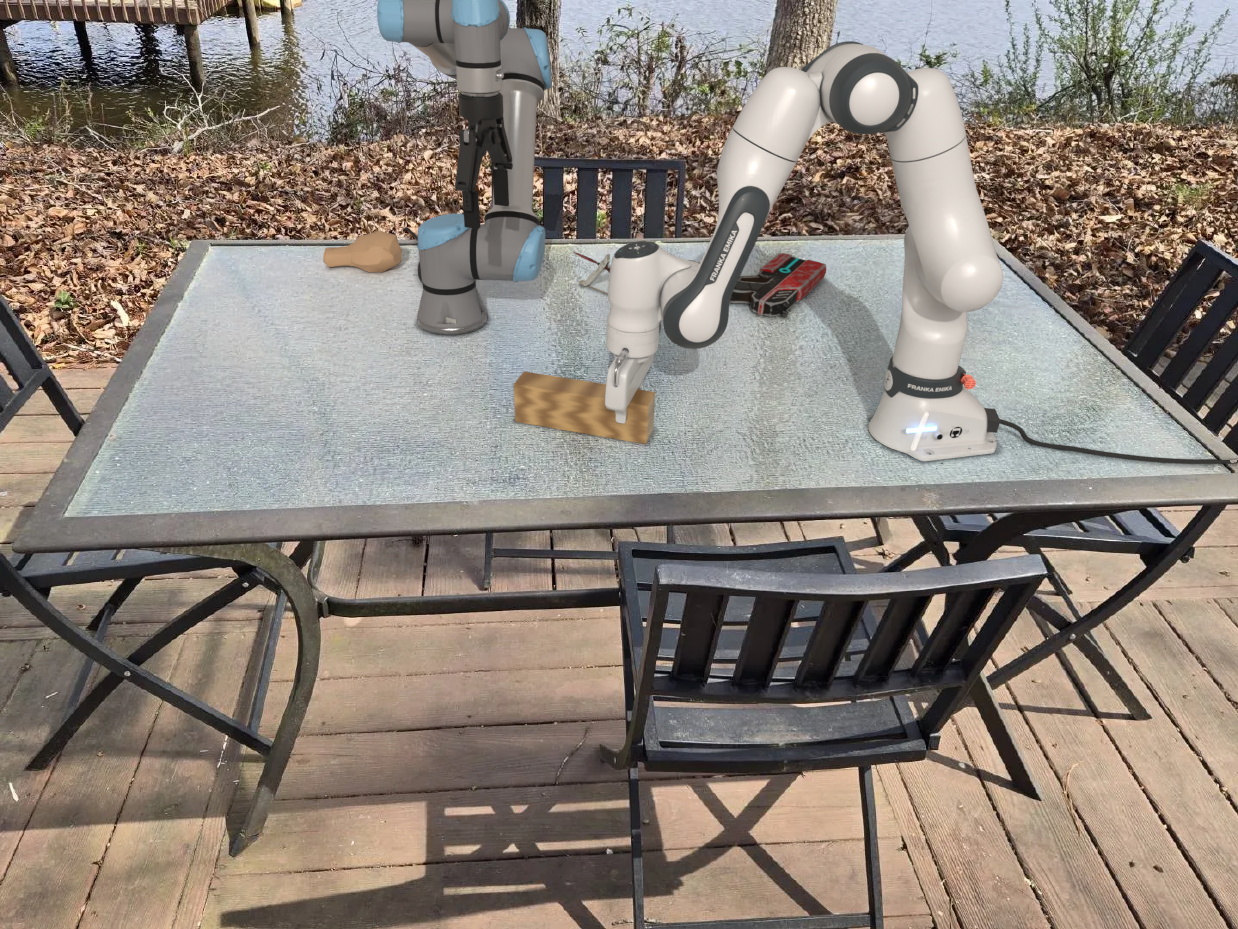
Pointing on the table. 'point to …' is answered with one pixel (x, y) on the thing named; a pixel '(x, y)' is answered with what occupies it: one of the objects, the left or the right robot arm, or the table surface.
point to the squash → (367, 253)
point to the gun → (778, 285)
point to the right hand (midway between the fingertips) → (628, 408)
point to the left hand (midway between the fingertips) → (487, 215)
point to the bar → (580, 407)
